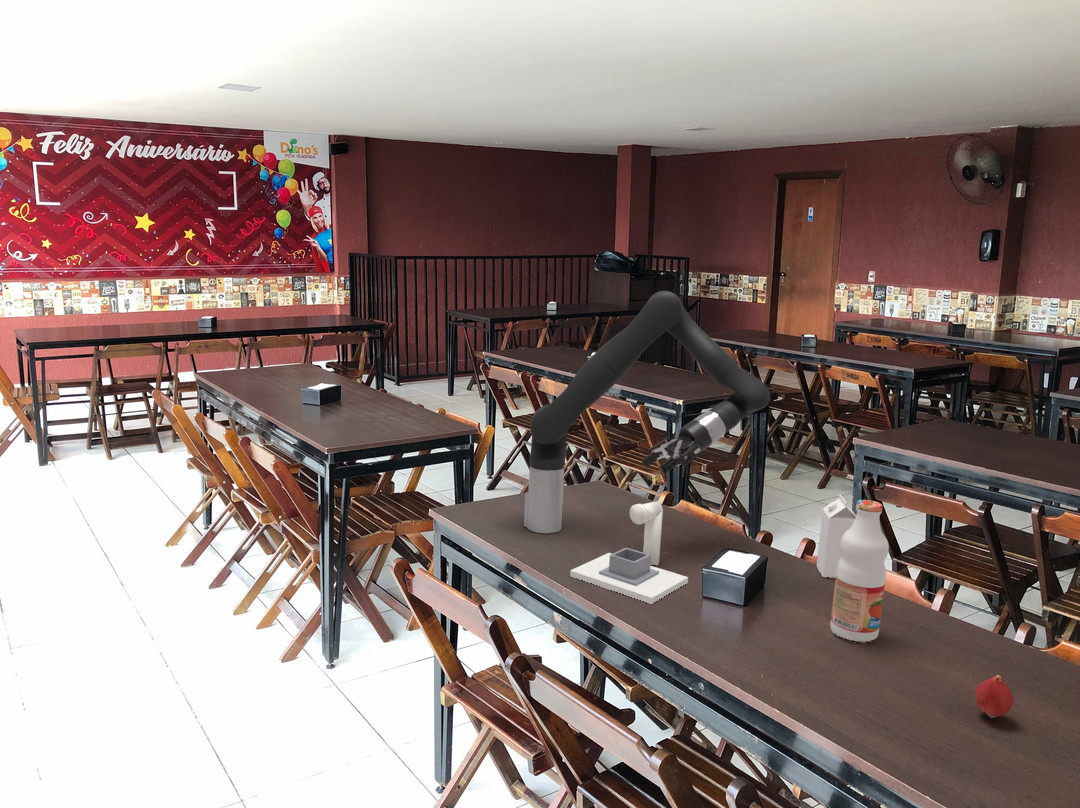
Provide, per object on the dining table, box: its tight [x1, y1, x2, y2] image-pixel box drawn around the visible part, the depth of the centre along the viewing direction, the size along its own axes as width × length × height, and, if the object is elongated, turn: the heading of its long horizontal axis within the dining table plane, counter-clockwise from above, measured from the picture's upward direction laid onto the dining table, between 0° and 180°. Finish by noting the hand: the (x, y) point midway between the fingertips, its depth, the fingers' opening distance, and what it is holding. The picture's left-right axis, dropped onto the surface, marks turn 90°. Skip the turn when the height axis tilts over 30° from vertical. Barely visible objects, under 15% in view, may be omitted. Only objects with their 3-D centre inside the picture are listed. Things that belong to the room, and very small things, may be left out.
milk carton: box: [816, 493, 857, 579], centre depth 209 cm, size 7×7×19 cm
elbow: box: [629, 501, 664, 566], centre depth 210 cm, size 8×5×16 cm, turn 132°
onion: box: [974, 674, 1015, 717], centre depth 148 cm, size 6×6×8 cm
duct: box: [569, 547, 689, 605], centre depth 201 cm, size 22×16×6 cm
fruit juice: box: [829, 499, 890, 642], centre depth 176 cm, size 9×9×28 cm
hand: (652, 467), depth 210 cm, fingers open, 8 cm apart
